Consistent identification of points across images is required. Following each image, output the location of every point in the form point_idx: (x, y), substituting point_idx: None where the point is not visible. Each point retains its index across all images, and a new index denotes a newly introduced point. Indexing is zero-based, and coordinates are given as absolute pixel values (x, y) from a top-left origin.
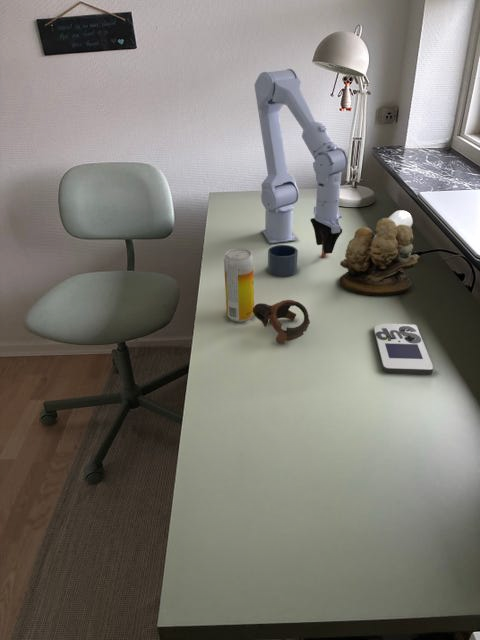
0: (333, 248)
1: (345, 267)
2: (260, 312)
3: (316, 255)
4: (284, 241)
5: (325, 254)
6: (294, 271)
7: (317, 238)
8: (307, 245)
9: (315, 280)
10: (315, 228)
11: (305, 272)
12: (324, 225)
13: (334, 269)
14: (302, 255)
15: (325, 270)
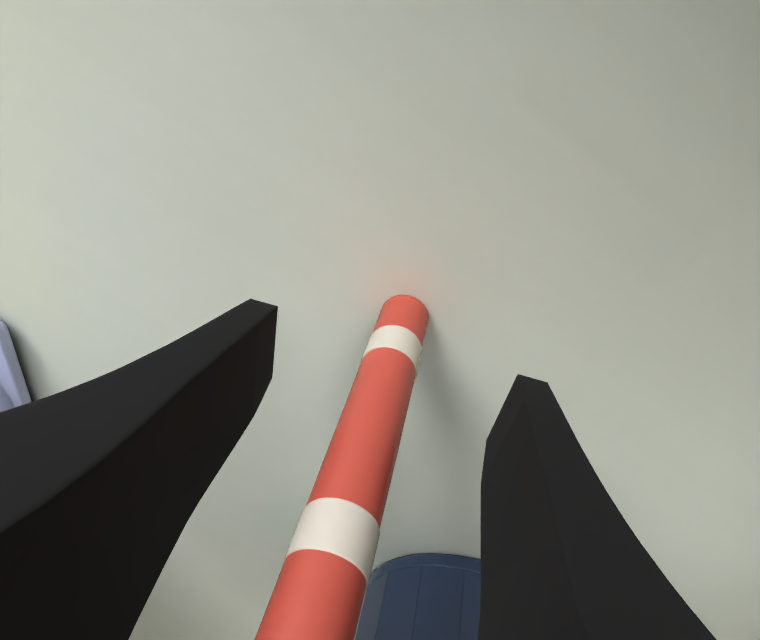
0: (567, 422)
1: None
2: None
3: (345, 345)
4: (29, 400)
5: (424, 333)
6: None
7: (230, 445)
8: (110, 286)
9: (738, 585)
10: (141, 610)
11: None
12: (90, 564)
13: (718, 396)
14: (298, 425)
15: (664, 458)
